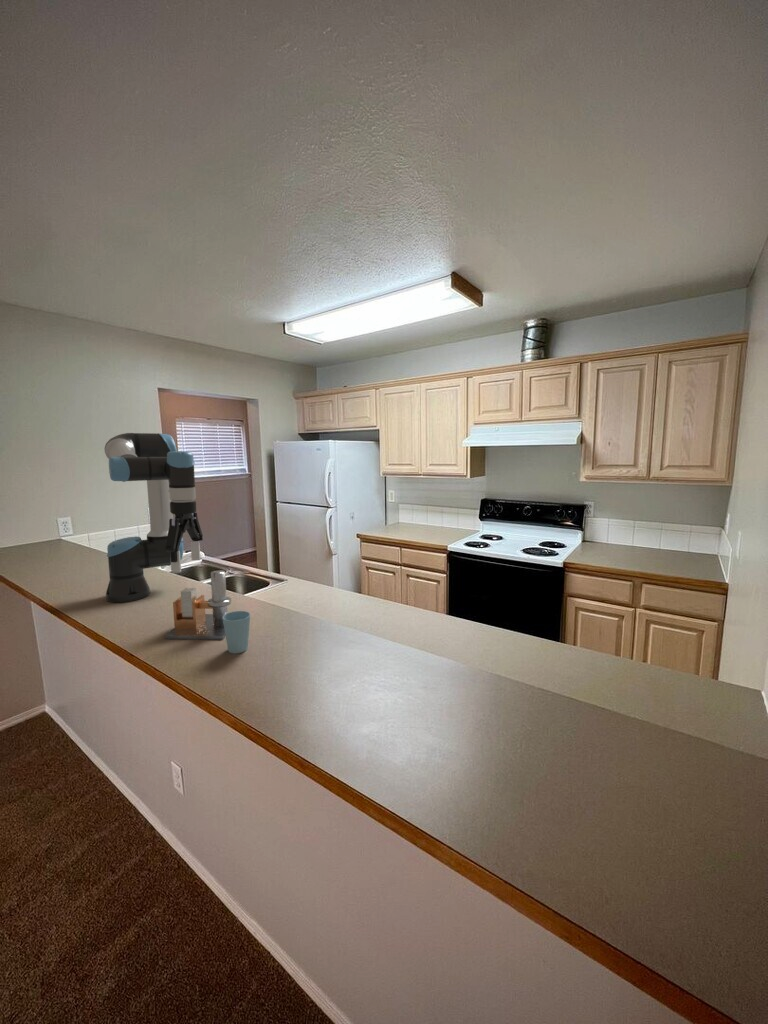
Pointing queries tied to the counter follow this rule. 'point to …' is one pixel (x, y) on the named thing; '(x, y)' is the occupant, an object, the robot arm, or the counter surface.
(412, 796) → the counter surface
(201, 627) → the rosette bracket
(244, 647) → the cup
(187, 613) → the light grey block
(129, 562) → the robot arm
